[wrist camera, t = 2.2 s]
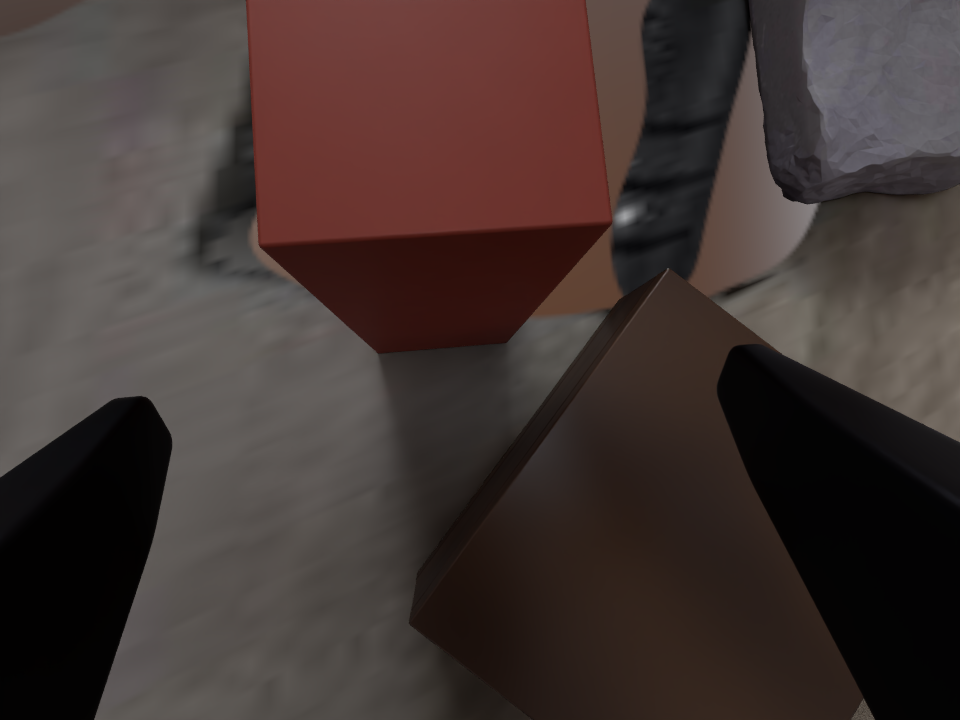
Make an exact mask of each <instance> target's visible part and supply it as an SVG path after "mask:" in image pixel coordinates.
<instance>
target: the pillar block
mask: <svg viewBox="0 0 960 720" xmlns="http://www.w3.org/2000/svg"><path fill="white" fill-rule="evenodd" d="M246 9H247V29H248V48H249V67H250V87H251V106H252V126H253V145H254V165H255V184H256V203H257V223H258V242H259V246H260V248H262V249H263V250H264V251H265V252H266V253H267V254H268V255H269V256H270V257H271V258H273V259H274V260H275V261H276V262H277V263H278V264H279V265H280V266H281V267H283V268H284V269H285V270H286V271H287V272H288V273H289V274H290V275H291V276H293V277H294V278H295V279H296V280H297V281H298V282H299V283H300V284H301V285H303V286H304V287H305V288H306V289H307V290H308V291H309V292H310V293H311V294H313V295H314V296H315V297H316V298H317V299H318V300H319V301H320V302H321V303H323V304H324V305H325V306H326V307H327V308H328V309H329V310H330V311H331V312H333V313H334V314H335V315H336V316H337V317H338V318H339V319H340V320H341V321H343V322H344V323H345V324H346V325H347V326H348V327H349V328H350V329H351V330H353V331H354V332H355V333H356V334H357V335H358V336H359V337H360V338H361V339H363V340H364V341H365V342H366V343H367V344H368V345H369V346H370V347H371V348H373V349H374V350H375V351H376V352H377V353H389V352H402V351H414V350H426V349H438V348H450V347H462V346H474V345H486V344H498V343H507V342H508V341H509V340H510V338H511V337H512V336H513V335H514V334H515V333H516V332H517V331H518V329H519V328H520V327H521V326H522V325H523V324H524V323H525V321H526V320H527V319H528V318H529V317H530V316H531V315H532V314H533V312H534V311H535V310H536V309H537V308H538V307H539V306H540V305H541V303H542V302H543V301H544V300H545V299H546V298H547V297H548V295H549V294H550V293H551V292H552V291H553V290H554V289H555V288H556V286H557V285H558V284H559V283H560V282H561V281H562V280H563V279H564V277H565V276H566V275H567V274H568V273H569V272H570V271H571V270H572V268H573V267H574V266H575V265H576V264H577V262H579V260H580V259H581V258H582V257H583V256H584V255H585V254H586V253H587V251H588V250H589V249H590V248H591V247H592V246H593V245H594V243H595V242H596V241H597V240H598V239H599V238H600V237H601V236H602V235H603V233H604V232H605V231H606V230H607V229H608V228H609V227H610V225H611V224H612V214H611V206H610V197H609V189H608V181H607V173H606V165H605V157H604V148H603V140H602V132H601V123H600V115H599V107H598V99H597V91H596V82H595V74H594V66H593V58H592V50H591V42H590V33H589V26H588V17H587V8H586V1H585V0H246Z"/></svg>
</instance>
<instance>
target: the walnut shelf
mask: <svg viewBox="0 0 960 720" xmlns="http://www.w3.org/2000/svg"><path fill="white" fill-rule="evenodd" d="M746 344H761V345H764V346H766V347H768V348H770V349H772V350H774V351H776V352H778V351H777V350H776V349H775V348H773V347H772V346H771V345H769V344H768V343H767V342H765V341H764V340H763V339H761V338H760V337H759V336H757V335H756V334H755V333H754V332H752V331H751V330H750V329H748V328H747V327H746V326H744V325H743V324H742V323H740V322H739V321H738V320H736V319H735V318H734V317H733V316H731V315H730V314H729V313H727V312H726V311H725V310H723V309H722V308H721V307H719V306H718V305H717V304H715V303H714V302H713V301H712V300H710V299H709V298H708V297H706V296H705V295H704V294H702V293H701V292H700V291H698V290H697V289H695V288H694V287H693V286H692V285H691V284H689V283H688V282H687V281H685V280H684V279H683V278H681V277H680V276H679V275H677V274H676V273H675V272H674V271H672V270H671V269H669V268H668V269H666V270H664V271H663V272H661V273H660V274H658V275H657V276H656V277H654V278H652V279H651V280H649V281H648V282H646V283H645V284H643V285H642V286H640V287H639V288H637V289H635V290H634V291H632V292H631V293H629V294H628V295H626V296H624V297H622V298H621V299H619V300H618V302H617V303H616V304H615V306H614V307H613V308H612V310H611V311H610V313H609V314H608V315H607V317H606V318H605V319H604V321H603V322H602V323H601V325H600V326H599V327H598V329H597V330H596V331H595V333H594V334H593V336H592V337H591V338H590V340H589V341H588V342H587V344H586V345H585V346H584V348H583V349H582V350H581V352H580V353H579V354H578V356H577V357H576V359H575V360H574V361H573V363H572V364H571V365H570V367H569V368H568V369H567V371H566V372H565V373H564V375H563V376H562V377H561V379H560V380H559V382H558V383H557V384H556V386H555V387H554V388H553V390H552V391H551V392H550V394H549V395H548V396H547V398H546V399H545V400H544V402H543V403H542V405H541V406H540V407H539V409H538V410H537V411H536V413H535V414H534V415H533V417H532V418H531V419H530V421H529V422H528V423H527V425H526V426H525V428H524V429H523V430H522V432H521V433H520V434H519V436H518V437H517V438H516V440H515V441H514V442H513V444H512V445H511V446H510V448H509V449H508V451H507V452H506V453H505V455H504V456H503V457H502V459H501V460H500V461H499V463H498V464H497V465H496V467H495V468H494V469H493V471H492V472H491V474H490V475H489V476H488V478H487V479H486V480H485V482H484V483H483V484H482V486H481V487H480V488H479V490H478V491H477V493H476V494H475V495H474V497H473V498H472V499H471V501H470V502H469V503H468V505H467V506H466V507H465V509H464V510H463V511H462V513H461V514H460V516H459V517H458V518H457V520H456V521H455V522H454V524H453V525H452V526H451V528H450V529H449V530H448V532H447V533H446V534H445V536H444V537H443V539H442V540H441V541H440V543H439V544H438V545H437V547H436V548H435V549H434V551H433V552H432V553H431V555H430V556H429V557H428V559H427V560H426V562H425V563H424V564H423V566H422V567H421V568H420V570H419V571H418V572H417V577H416V585H415V591H414V597H413V603H412V609H411V613H410V619H409V624H410V625H411V626H412V627H413V628H415V629H416V630H417V631H418V632H420V633H421V634H422V635H424V636H425V637H426V638H428V639H429V640H430V641H431V642H433V643H434V644H435V645H437V646H438V647H439V648H440V649H442V650H443V651H444V652H446V653H447V654H448V655H450V656H451V657H452V658H453V659H455V660H456V661H457V662H459V663H460V664H461V665H462V666H464V667H465V668H466V669H468V670H469V671H470V672H472V673H473V674H474V675H475V676H477V677H478V678H479V679H481V680H482V681H483V682H484V683H486V684H487V685H488V686H490V687H491V688H492V689H494V690H495V691H496V692H497V693H499V694H500V695H501V696H503V697H504V698H505V699H506V700H508V701H509V702H510V703H512V704H513V705H514V706H515V707H517V708H518V709H519V710H521V711H522V712H523V713H525V714H526V715H527V716H528V717H530V718H531V719H532V720H851V718H852V717H853V715H854V713H855V712H856V710H857V708H858V707H859V705H860V703H861V701H862V700H863V698H864V697H863V696H862V694H861V692H860V690H859V688H858V686H857V684H856V682H855V680H854V678H853V676H852V674H851V673H850V671H849V669H848V667H847V665H846V663H845V661H844V659H843V657H842V655H841V653H840V651H839V650H838V648H837V646H836V644H835V642H834V640H833V638H832V636H831V634H830V632H829V630H828V628H827V626H826V625H825V623H824V621H823V619H822V617H821V615H820V613H819V611H818V609H817V607H816V605H815V603H814V602H813V600H812V598H811V596H810V594H809V592H808V590H807V588H806V586H805V584H804V582H803V580H802V579H801V577H800V575H799V573H798V571H797V569H796V567H795V565H794V563H793V561H792V559H791V557H790V556H789V554H788V552H787V550H786V548H785V546H784V544H783V542H782V540H781V538H780V536H779V534H778V533H777V531H776V529H775V527H774V525H773V523H772V521H771V519H770V517H769V515H768V513H767V511H766V510H765V508H764V506H763V504H762V502H761V500H760V498H759V496H758V494H757V492H756V490H755V488H754V486H753V484H752V482H751V480H750V478H749V476H748V473H747V471H746V469H745V466H744V464H743V461H742V459H741V456H740V454H739V451H738V449H737V446H736V443H735V441H734V438H733V436H732V433H731V431H730V428H729V425H728V423H727V420H726V418H725V415H724V413H723V410H722V407H721V405H720V402H719V400H718V396H717V382H718V379H719V377H720V374H721V371H722V369H723V366H724V364H725V361H726V358H727V356H728V353H729V351H730V350H731V349H732V348H733V347H734V346H737V345H746ZM778 353H780V352H778ZM780 354H781V353H780Z"/></svg>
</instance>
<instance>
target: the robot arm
mask: <svg viewBox="0 0 960 720" xmlns="http://www.w3.org/2000/svg"><path fill="white" fill-rule="evenodd" d="M717 396H718V400H719V402H720V405H721V407H722V410H723V413H724V415H725V418H726V420H727V423H728V425H729V428H730V431H731V433H732V436H733V438H734V441H735V443H736V446H737V449H738V451H739V454H740V456H741V459H742V461H743V464H744V466H745V469H746V471H747V473H748V476H749V478H750V480H751V482H752V484H753V486H754V488H755V490H756V492H757V494H758V496H759V498H760V500H761V502H762V504H763V506H764V508H765V510H766V511H767V513H768V515H769V517H770V519H771V521H772V523H773V525H774V527H775V529H776V531H777V533H778V534H779V536H780V538H781V540H782V542H783V544H784V546H785V548H786V550H787V552H788V554H789V556H790V557H791V559H792V561H793V563H794V565H795V567H796V569H797V571H798V573H799V575H800V577H801V579H802V580H803V582H804V584H805V586H806V588H807V590H808V592H809V594H810V596H811V598H812V600H813V602H814V603H815V605H816V607H817V609H818V611H819V613H820V615H821V617H822V619H823V621H824V623H825V625H826V626H827V628H828V630H829V632H830V634H831V636H832V638H833V640H834V642H835V644H836V646H837V648H838V650H839V651H840V653H841V655H842V657H843V659H844V661H845V663H846V665H847V667H848V669H849V671H850V673H851V674H852V676H853V678H854V680H855V682H856V684H857V686H858V688H859V690H860V692H861V694H862V696H863V697H864V699H865V701H866V703H867V705H868V707H869V709H870V711H871V713H872V715H873V717H874V719H875V720H960V442H958V441H956V440H954V439H952V438H950V437H948V436H946V435H944V434H942V433H940V432H938V431H936V430H934V429H932V428H929V427H927V426H925V425H923V424H921V423H919V422H917V421H915V420H913V419H911V418H909V417H907V416H905V415H903V414H901V413H899V412H897V411H895V410H893V409H891V408H889V407H887V406H885V405H883V404H881V403H879V402H877V401H875V400H873V399H871V398H869V397H867V396H865V395H863V394H861V393H859V392H857V391H855V390H853V389H851V388H849V387H847V386H845V385H843V384H841V383H839V382H837V381H835V380H832V379H830V378H828V377H826V376H824V375H822V374H820V373H818V372H816V371H814V370H812V369H810V368H808V367H806V366H804V365H802V364H800V363H798V362H796V361H794V360H792V359H790V358H788V357H786V356H784V355H782V354H780V353H778V352H776V351H774V350H772V349H770V348H768V347H766V346H764V345H761V344H746V345H737V346H734V347H733V348H732V349H731V350H730V351H729V353H728V356H727V358H726V361H725V364H724V366H723V369H722V371H721V374H720V377H719V379H718V382H717ZM171 452H172V438H171V434H170V432H169V430H168V428H167V427H166V425H165V423H164V422H163V420H162V418H161V417H160V415H159V413H158V411H157V410H156V408H155V406H154V405H153V403H152V402H151V400H149V399H148V398H146V397H143V396H135V397H124V398H117V399H114V400H111V401H110V402H108V403H107V404H105V405H104V406H103V407H101V408H100V409H98V410H97V411H95V412H94V413H93V414H91V415H90V416H88V417H87V418H85V419H84V420H82V421H81V422H80V423H78V424H77V425H75V426H74V427H72V428H71V429H69V430H68V431H67V432H65V433H64V434H62V435H61V436H59V437H58V438H57V439H55V440H54V441H52V442H51V443H49V444H48V445H46V446H45V447H44V448H42V449H41V450H39V451H38V452H36V453H35V454H33V455H32V456H31V457H29V458H28V459H26V460H25V461H23V462H22V463H21V464H19V465H18V466H16V467H15V468H13V469H12V470H10V471H9V472H8V473H6V474H5V475H3V476H2V477H0V720H94V718H95V715H96V712H97V709H98V706H99V703H100V700H101V697H102V694H103V691H104V688H105V685H106V682H107V679H108V676H109V673H110V670H111V667H112V664H113V661H114V658H115V655H116V652H117V649H118V646H119V643H120V640H121V637H122V634H123V631H124V628H125V625H126V621H127V618H128V615H129V612H130V609H131V606H132V603H133V600H134V597H135V594H136V591H137V588H138V585H139V582H140V579H141V576H142V573H143V570H144V567H145V564H146V561H147V558H148V555H149V551H150V548H151V545H152V541H153V537H154V533H155V529H156V525H157V520H158V515H159V510H160V505H161V500H162V495H163V491H164V486H165V481H166V476H167V471H168V466H169V461H170V456H171Z"/></svg>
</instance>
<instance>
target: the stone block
mask: <svg viewBox="0 0 960 720" xmlns="http://www.w3.org/2000/svg"><path fill="white" fill-rule="evenodd" d="M749 9H750V19H751V28H752V37H753V46H754V50H755V56H756V69H757V77H758V86H759V92H760V96H761V100H762V104H763V111H764V124H763V128H764V133H765V145H766V150H767V159H768V163H769V168H770V171H771V174H772V177H773V179H774V181H775V183H776V184H777V185H778V186H779V187H780V188H781V189H782V192H783V196H784V197H785V198H787V199H789V200H791V201H798V202H801V203H804V204H813V203H819V202H822V201H824V200H825V201H827V200H832V199H837V198H841V197H844V196H847V195H850V194H853V193H858V192H865V191H867V192H875V193H885V194H898V195H899V194H929V193H935V192H939V191H943V190H946V189H949V188H951V187H954V186H956V185H959V184H960V0H749Z"/></svg>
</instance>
